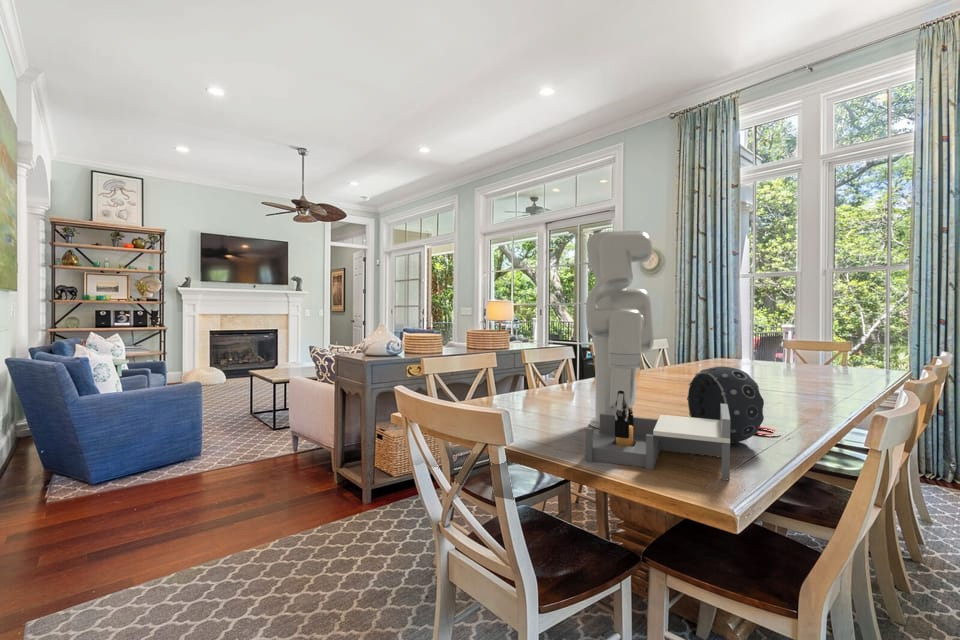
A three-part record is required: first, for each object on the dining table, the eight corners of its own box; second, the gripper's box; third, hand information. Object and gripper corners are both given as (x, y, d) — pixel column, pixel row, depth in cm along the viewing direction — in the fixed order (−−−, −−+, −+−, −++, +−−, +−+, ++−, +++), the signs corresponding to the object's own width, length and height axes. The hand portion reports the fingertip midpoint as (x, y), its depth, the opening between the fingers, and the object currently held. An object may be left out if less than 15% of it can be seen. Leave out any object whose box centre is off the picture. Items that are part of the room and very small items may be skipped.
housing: (600, 441, 126) (600, 413, 126) (726, 457, 113) (727, 425, 113) (585, 460, 111) (585, 428, 110) (729, 480, 98) (730, 444, 97)
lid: (660, 418, 119) (660, 398, 119) (727, 424, 113) (727, 404, 112) (653, 435, 104) (653, 412, 104) (730, 443, 97) (730, 419, 97)
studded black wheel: (728, 453, 116) (728, 372, 115) (683, 432, 135) (684, 362, 135) (768, 451, 117) (769, 371, 116) (718, 430, 137) (719, 362, 136)
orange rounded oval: (617, 450, 118) (617, 423, 117) (634, 453, 116) (634, 425, 116) (614, 455, 114) (614, 427, 114) (631, 458, 112) (631, 429, 112)
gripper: (615, 356, 124) (614, 424, 124) (601, 363, 108) (601, 441, 109) (645, 357, 120) (644, 427, 121) (635, 365, 105) (635, 445, 105)
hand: (624, 433), depth 115 cm, fingers open, 6 cm apart
